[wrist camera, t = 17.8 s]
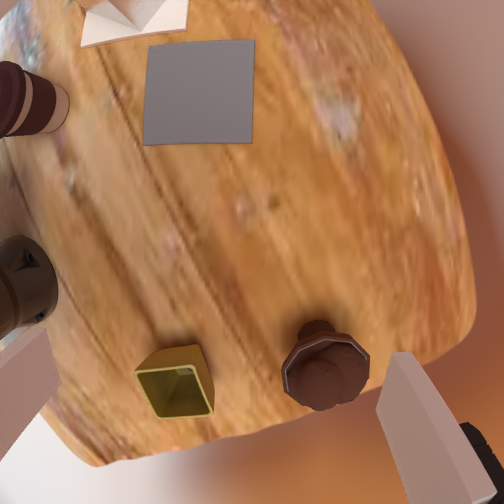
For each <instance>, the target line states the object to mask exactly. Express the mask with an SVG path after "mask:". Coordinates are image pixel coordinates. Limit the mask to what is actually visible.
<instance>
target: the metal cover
mask: <svg viewBox="0 0 504 504" xmlns="http://www.w3.org/2000/svg"><path fill="white" fill-rule="evenodd" d="M74 1H75V2H77V3H78V4H79V5H81V6H82V7H83V8H85V9H86V10H88V11H89V12H91V13H94V14H97V15H100V16H102V17H105V18H108V19H110V20H113V21H116V22H118V23H121V24H123V25H126V26H128V27H131V28H133V29H135V30H138V31H140V32H142V30H143V29H144V28H145V26H146V25H147V24H148V22H149V21H150V20H151V18H152V17H153V16H154V15H155V13H156V12H157V11H158V10H159V8H160V7H161V6H162V5H163V4H164V2H165V1H166V0H74Z"/></svg>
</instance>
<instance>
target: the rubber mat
mask: <svg viewBox="0 0 504 504" xmlns="http://www.w3.org/2000/svg"><path fill="white" fill-rule="evenodd" d="M254 49H255V40H217V41H199V42H185V43H175V44H165V45H157V46H149V52H148V62H147V74H146V87H145V104H144V126H143V145H162V144H192V143H251V144H252V119H253V84H254Z"/></svg>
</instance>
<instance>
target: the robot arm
mask: <svg viewBox="0 0 504 504" xmlns="http://www.w3.org/2000/svg"><path fill="white" fill-rule="evenodd" d="M57 298H58V287H57V280H56V276H55V273H54V270H53V267H52V265H51V263H50V261H49V259H48V257H47V256H46V254H45V253H44V251H43V250H42V249H41V248H40V247H39V246H38V245H37V244H36V243H35V242H34V241H32V240H31V239H29V238H27V237H24V236H14V237H11V238H8V239H6V240H4V241H2V242H0V340H1V339H2V338H4V337H5V336H6V335H7V334H9V333H10V332H11V331H12V330H14V329H15V328H19V327H24V326H29V325H34V324H37V323H40V322H41V321H43V320H44V319H45V318H47V317H48V316H49V315H50V314H51V313H52V312H53V310H54V309H55V306H56V303H57ZM61 384H62V383H61V380H60V377H59V374H58V371H57V368H56V364H55V361H54V358H53V354H52V351H51V347H50V344H49V340H48V336H47V332H46V329H44V328H39V327H35V326H32V327H31V328H29V329H28V330H27V331H26V332H24V333H23V334H22V335H21V336H20V337H18V338H17V339H16V340H15V341H13V342H12V343H11V344H10V345H9V346H7V347H6V348H5V349H4V350H3V351H1V352H0V461H1V460H2V458H3V457H4V456H5V454H6V453H7V451H8V450H9V449H10V448H11V446H12V445H13V443H14V442H15V441H16V440H17V438H18V437H19V436H20V435H21V433H22V432H23V431H24V429H25V428H26V427H27V426H28V424H29V423H30V422H31V421H32V419H33V418H34V417H35V416H36V414H37V413H38V412H39V411H40V409H41V408H42V407H43V406H44V404H45V403H46V402H47V401H48V399H49V398H50V397H51V396H52V395H53V393H54V392H55V391H56V390H57V388H58V387H59V386H60V385H61ZM376 412H377V415H378V418H379V420H380V423H381V425H382V428H383V431H384V433H385V436H386V438H387V441H388V444H389V447H390V449H391V452H392V455H393V458H394V460H395V463H396V466H397V469H398V472H399V474H400V477H401V480H402V483H403V486H404V489H405V492H406V495H407V498H408V501H409V504H504V469H503V467H502V466H501V464H500V463H499V461H498V459H497V458H496V456H495V454H493V453H492V449H491V448H490V446H489V445H487V442H486V440H485V438H484V437H483V435H482V434H481V432H480V431H479V430H478V429H477V428H475V427H474V426H473V425H471V424H470V423H469V422H466V423H462V424H458V423H457V421H456V420H455V418H454V416H453V415H452V413H451V411H450V410H449V408H448V407H447V405H446V404H445V402H444V401H443V399H442V397H441V396H440V394H439V393H438V391H437V390H436V388H435V387H434V385H433V384H432V382H431V380H430V379H429V377H428V376H427V375H426V373H425V372H424V370H423V369H422V367H421V366H420V364H419V363H418V361H417V360H416V358H415V357H414V355H413V354H412V352H396V353H392V356H391V359H390V363H389V367H388V370H387V374H386V378H385V381H384V384H383V388H382V391H381V394H380V398H379V401H378V404H377V407H376Z"/></svg>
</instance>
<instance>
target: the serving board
mask: <svg viewBox="0 0 504 504" xmlns="http://www.w3.org/2000/svg"><path fill="white" fill-rule="evenodd" d="M189 5H190V0H166V1H165V2H164V4H163V5H162V6H161V7H160V8H159V10H158V11H157V12H156V13H155V15H154V16H153V17H152V18H151V20H150V21H149V22H148V24H147V25H146V26H145V28H144V29H143V30H142V32H140V31H138V30H135V29H133V28H131V27H128V26H126V25H123V24H121V23H118V22H116V21H113V20H110V19H108V18H105V17H102V16H100V15H97V14H94V13H91V12H89V11H88V10H87V13H86V18H85V23H84V29H83V35H82V41H81V47H82V48H88V47H92V46H97V45H101V44H106V43H110V42H115V41H120V40H126V39H131V38H137V37H144V36H150V35H158V34H165V33H174V32H184V31H187V25H188V14H189Z"/></svg>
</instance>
